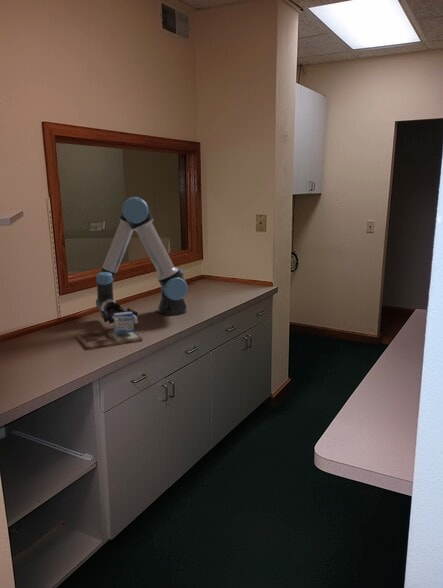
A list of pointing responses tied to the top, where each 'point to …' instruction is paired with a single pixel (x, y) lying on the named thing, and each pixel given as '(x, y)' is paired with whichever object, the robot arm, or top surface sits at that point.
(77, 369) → the top surface
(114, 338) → the pocket board
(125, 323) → the medicine box
